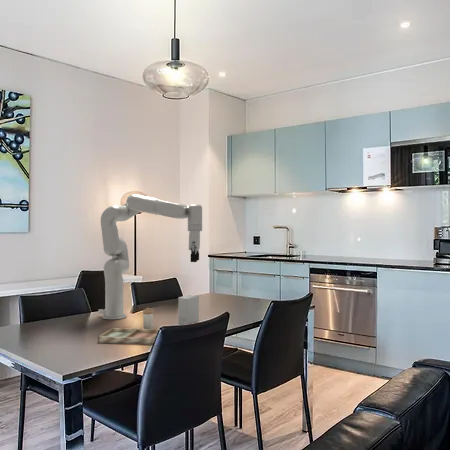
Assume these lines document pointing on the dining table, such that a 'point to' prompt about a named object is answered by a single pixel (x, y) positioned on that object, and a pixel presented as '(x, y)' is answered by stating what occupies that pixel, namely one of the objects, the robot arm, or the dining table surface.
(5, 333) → the dining table surface
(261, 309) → the dining table surface
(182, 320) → the skincare box
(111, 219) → the robot arm
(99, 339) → the sorting tray
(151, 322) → the cylinder
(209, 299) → the dining table surface
